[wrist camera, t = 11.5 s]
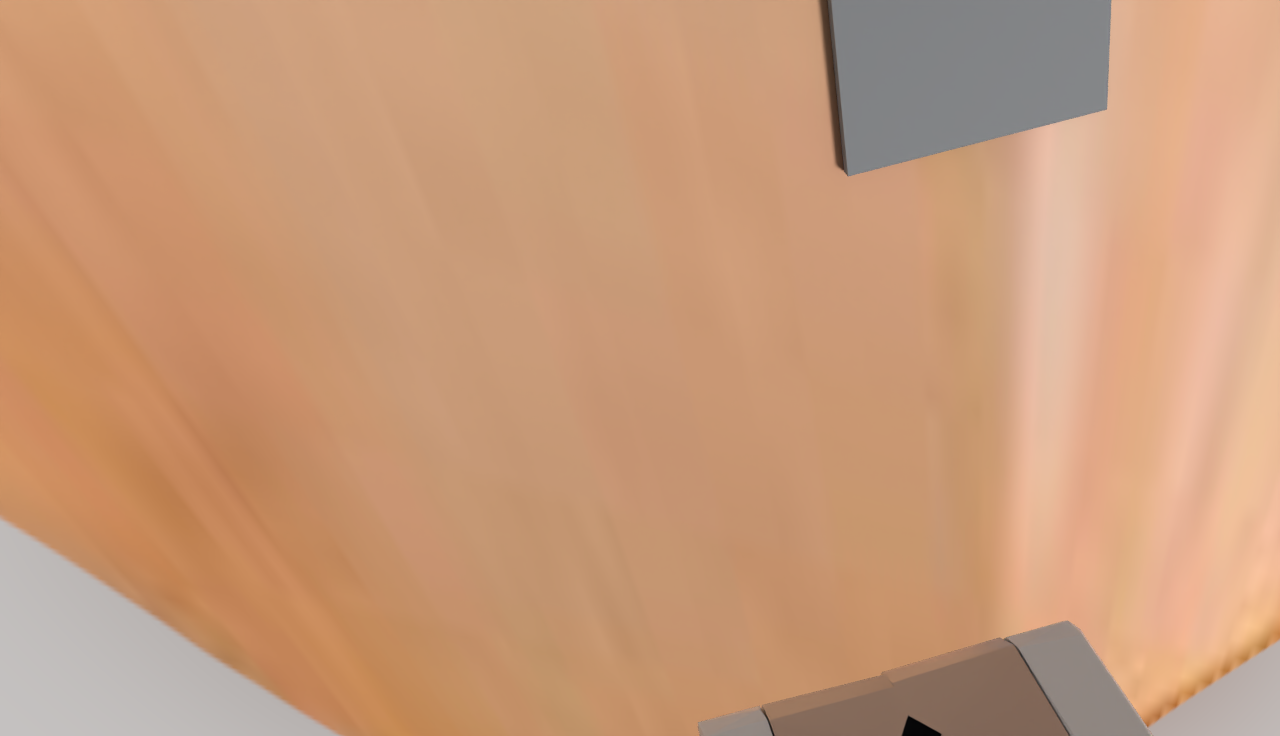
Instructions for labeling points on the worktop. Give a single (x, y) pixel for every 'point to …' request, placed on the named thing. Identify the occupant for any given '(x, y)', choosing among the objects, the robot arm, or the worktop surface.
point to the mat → (961, 72)
